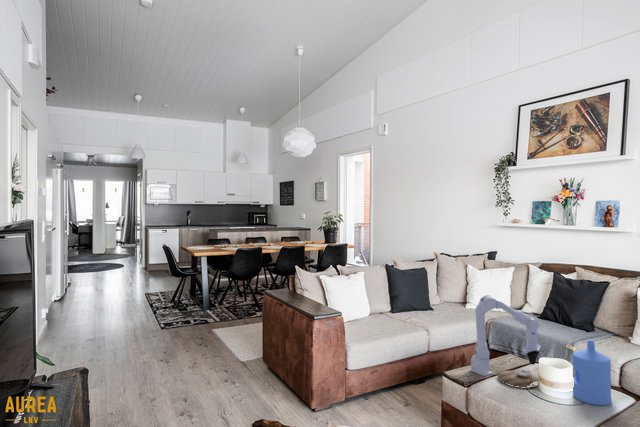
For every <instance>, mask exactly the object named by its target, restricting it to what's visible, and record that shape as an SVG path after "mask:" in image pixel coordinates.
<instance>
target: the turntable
mask: <svg viewBox="0 0 640 427" xmlns="http://www.w3.org/2000/svg"><path fill="white" fill-rule="evenodd" d="M497 378H499V379H498V381H500V380H501V381H502V382H504V383H507V384H510V385H513V386H519V387H527V386H530V384H531V383H533V382H535V381H538V380H539V378H538V377H536V376H535V375H533V374H531V377H530V378H521V377H518V376H517V374H516V370H503V371H500V372H499V373H498V374H497ZM501 381H500V382H501ZM502 382H501V383H502ZM504 383H503V384H504ZM513 386H512V387H513Z"/></svg>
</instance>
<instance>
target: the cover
mask: <svg viewBox="0 0 640 427" xmlns="http://www.w3.org/2000/svg"><path fill="white" fill-rule="evenodd" d="M515 371H516V374H517V376H518V377H521V378H530V377H531V375H532V373H531V371H530V370H529V369H525V368H517V369H516V370H515Z"/></svg>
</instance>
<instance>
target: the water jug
mask: <svg viewBox="0 0 640 427" xmlns="http://www.w3.org/2000/svg"><path fill="white" fill-rule="evenodd" d="M586 342H587V344H586V346H587V347H586V349H583V350H577V351H574V352H573V353H572V366H573V368H574V369H575V378H574V388H573V389H572V395H573V396H574V397H575V399H577V400H578V401H580V402H582V403H586V404H589V405H592V406H600V407H601V406H608V405H611V403H612V389H611V388H612V378H611V377H612V376H611V374H612V373H611V368H612V364H611V359H610V357H608V356H607V355H605V354H603V353H601V352H599V351H597V350H596V346H595V344H596V342H595V341H593V340H586Z"/></svg>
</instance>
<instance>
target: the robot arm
mask: <svg viewBox="0 0 640 427" xmlns="http://www.w3.org/2000/svg"><path fill="white" fill-rule="evenodd" d="M494 309H497V310H499V309H501V310H503V311H505V312H506V313H508V314H510V315H512V318H513V319H514V320H515V321H517V322H519V323H520V324H521V325H523V326H525V336H526V337H525V339H526V340H525V347H524V348H523V349H522V354H525V355H527V357H528V361H529V364H530V365H535V364H536V361H537V358H538V356H539V354H540V350H542V345H540V344H539V342H538V340H539V339H538V338H539V337H538V332H539V331H538V329H539V328H540V324H539V322H538V321H537V320H536V318H535V319H534V318H533V317H532V316H531V315H528V314H526V313H524V312H525V311H523V310H520V309H517V310H516V309H514V308H512V307H510V306H509V305H508V304H506V303H505V302H503V301H502V300H499V299H497V298H495V297H492V296H491V295H489V294H485V295H484V296H482V297H481V298H480V300H479V302H478V304H477V305H476V307H475V311H474V312H475V324H476V325H475V326H476V342H475V346H474V350H475V352H476V353H475V354H473V355H472V356H471V358H470V368H471V369H470V372H472V373H475V374H477V375H480V376H483V377H486V376H489V375H491V374H494V373H493V371H490V355H491V354H490V350H489V348H488V342H487V332H486V331H487V330H486V329H487V328H486V316H485V315H486V313H488V312H489V311H492V310H494Z"/></svg>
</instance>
